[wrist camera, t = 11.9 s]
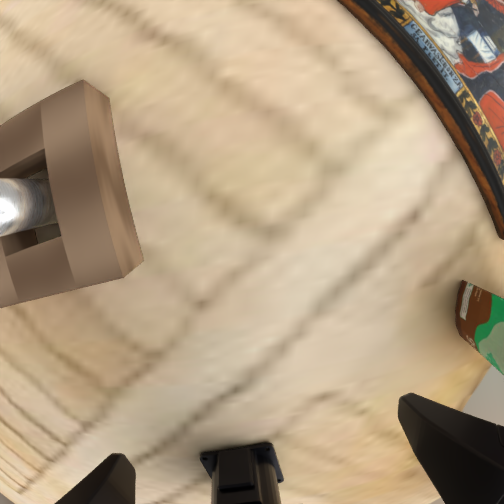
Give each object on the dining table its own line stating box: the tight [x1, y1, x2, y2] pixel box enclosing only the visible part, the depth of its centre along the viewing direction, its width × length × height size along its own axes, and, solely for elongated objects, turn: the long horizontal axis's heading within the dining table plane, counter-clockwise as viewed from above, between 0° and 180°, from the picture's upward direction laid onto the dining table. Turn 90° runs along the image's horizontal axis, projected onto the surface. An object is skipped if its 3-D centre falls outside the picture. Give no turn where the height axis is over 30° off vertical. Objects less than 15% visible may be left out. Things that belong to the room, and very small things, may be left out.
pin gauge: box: [0, 178, 58, 237], centre depth 13 cm, size 3×3×8 cm
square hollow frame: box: [0, 80, 144, 308], centre depth 15 cm, size 11×11×4 cm
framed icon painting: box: [338, 0, 504, 240], centre depth 15 cm, size 38×35×3 cm
